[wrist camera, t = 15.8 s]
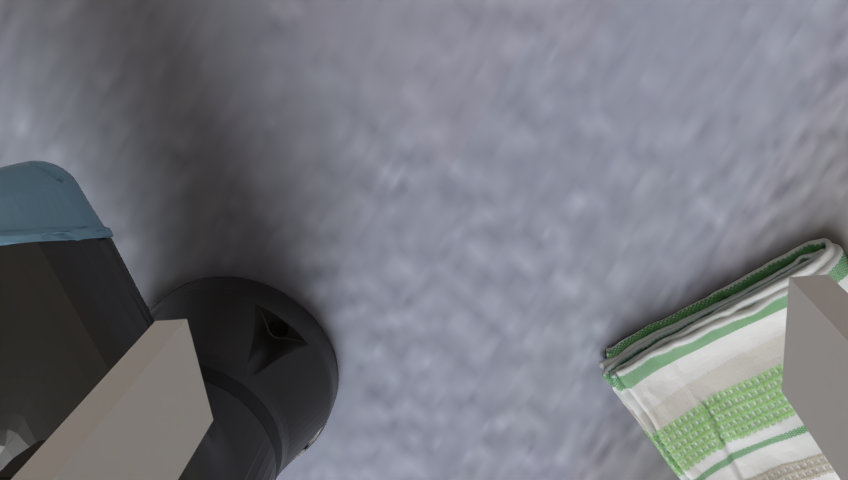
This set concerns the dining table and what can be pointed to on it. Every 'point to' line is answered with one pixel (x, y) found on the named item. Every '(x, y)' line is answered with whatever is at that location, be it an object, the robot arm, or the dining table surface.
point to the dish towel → (726, 377)
